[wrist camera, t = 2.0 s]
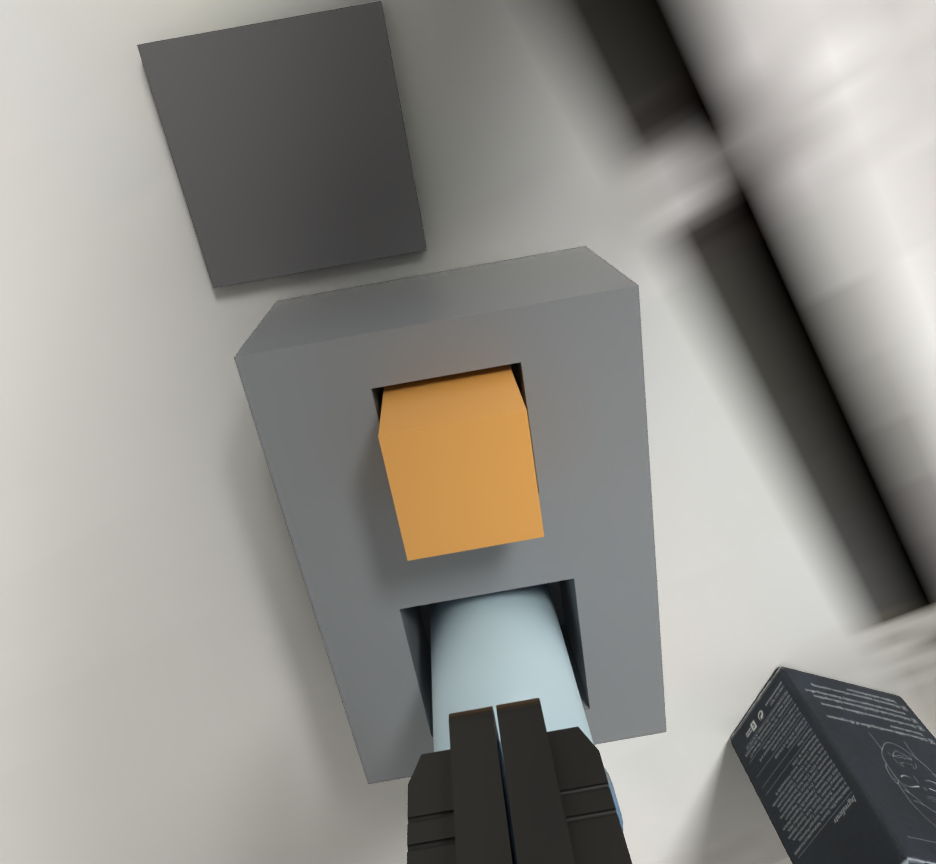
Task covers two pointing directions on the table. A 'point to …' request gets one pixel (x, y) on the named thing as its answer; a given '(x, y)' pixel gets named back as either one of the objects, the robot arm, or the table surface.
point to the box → (841, 771)
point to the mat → (288, 143)
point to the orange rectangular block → (460, 462)
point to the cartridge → (502, 660)
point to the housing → (484, 569)
